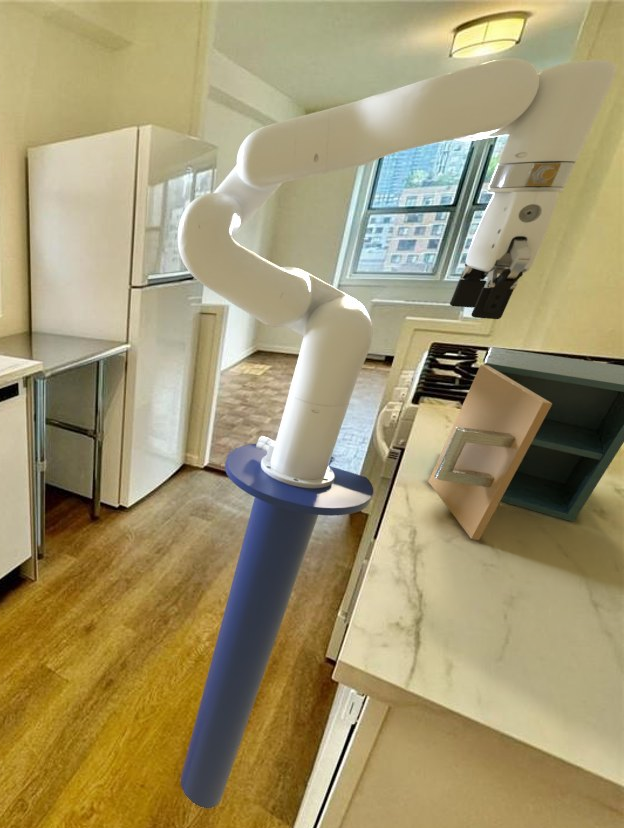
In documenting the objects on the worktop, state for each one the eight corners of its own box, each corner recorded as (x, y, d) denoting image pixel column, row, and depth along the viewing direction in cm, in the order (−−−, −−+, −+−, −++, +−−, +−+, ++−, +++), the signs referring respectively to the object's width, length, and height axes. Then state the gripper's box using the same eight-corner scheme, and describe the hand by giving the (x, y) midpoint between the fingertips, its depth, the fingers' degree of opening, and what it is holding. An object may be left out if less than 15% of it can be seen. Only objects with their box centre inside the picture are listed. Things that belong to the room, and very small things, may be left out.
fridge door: (420, 529, 73) (482, 396, 64) (387, 475, 89) (433, 360, 79) (479, 540, 71) (553, 403, 61) (434, 482, 86) (488, 365, 77)
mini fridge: (573, 522, 76) (657, 389, 66) (431, 481, 87) (485, 362, 77) (569, 489, 85) (642, 368, 75) (441, 456, 96) (490, 347, 86)
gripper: (603, 176, 56) (531, 325, 63) (535, 183, 70) (483, 304, 77) (519, 177, 58) (460, 320, 66) (470, 183, 72) (426, 301, 80)
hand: (473, 311), depth 72 cm, fingers open, 9 cm apart
